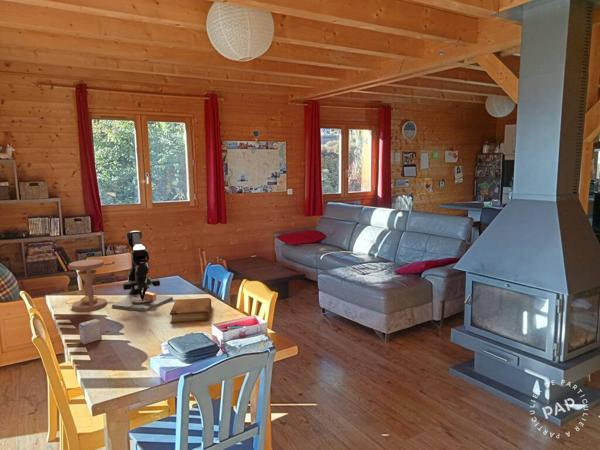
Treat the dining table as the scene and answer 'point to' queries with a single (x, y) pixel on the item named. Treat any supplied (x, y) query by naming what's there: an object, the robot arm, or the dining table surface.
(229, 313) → the dining table surface
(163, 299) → the panel
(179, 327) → the dining table surface
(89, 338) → the medicine box
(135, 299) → the dial
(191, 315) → the diary
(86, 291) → the wooden pedestal stand
